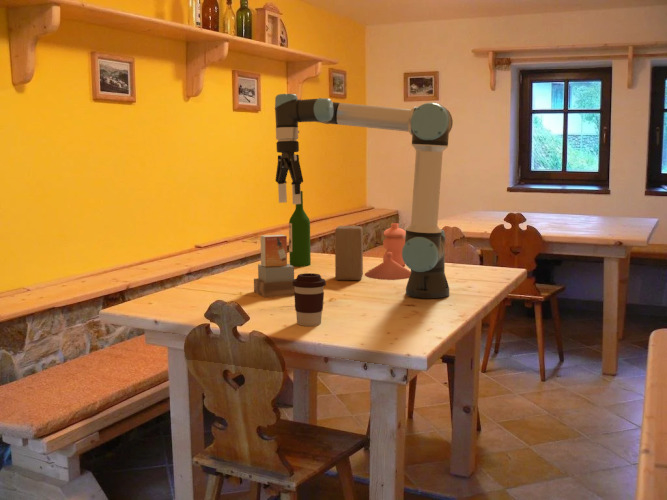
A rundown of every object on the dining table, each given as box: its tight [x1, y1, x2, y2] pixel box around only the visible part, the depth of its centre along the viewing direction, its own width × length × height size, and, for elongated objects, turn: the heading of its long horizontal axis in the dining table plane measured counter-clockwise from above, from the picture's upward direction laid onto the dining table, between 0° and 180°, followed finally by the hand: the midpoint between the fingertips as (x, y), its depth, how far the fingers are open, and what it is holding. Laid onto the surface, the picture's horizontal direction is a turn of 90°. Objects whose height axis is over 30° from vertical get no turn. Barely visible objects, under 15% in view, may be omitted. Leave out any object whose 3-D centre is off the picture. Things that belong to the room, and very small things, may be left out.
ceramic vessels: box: [364, 222, 411, 281], centre depth 298 cm, size 35×21×19 cm, turn 169°
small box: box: [260, 234, 288, 267], centre depth 254 cm, size 8×6×10 cm
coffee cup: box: [292, 272, 327, 327], centre depth 221 cm, size 10×10×15 cm
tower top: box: [257, 263, 295, 283], centre depth 256 cm, size 10×10×5 cm
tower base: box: [253, 278, 295, 298], centre depth 256 cm, size 12×12×5 cm
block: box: [334, 225, 364, 281], centre depth 284 cm, size 10×10×20 cm
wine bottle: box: [288, 190, 312, 268], centre depth 313 cm, size 9×9×32 cm
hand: (289, 203), depth 252 cm, fingers open, 13 cm apart
